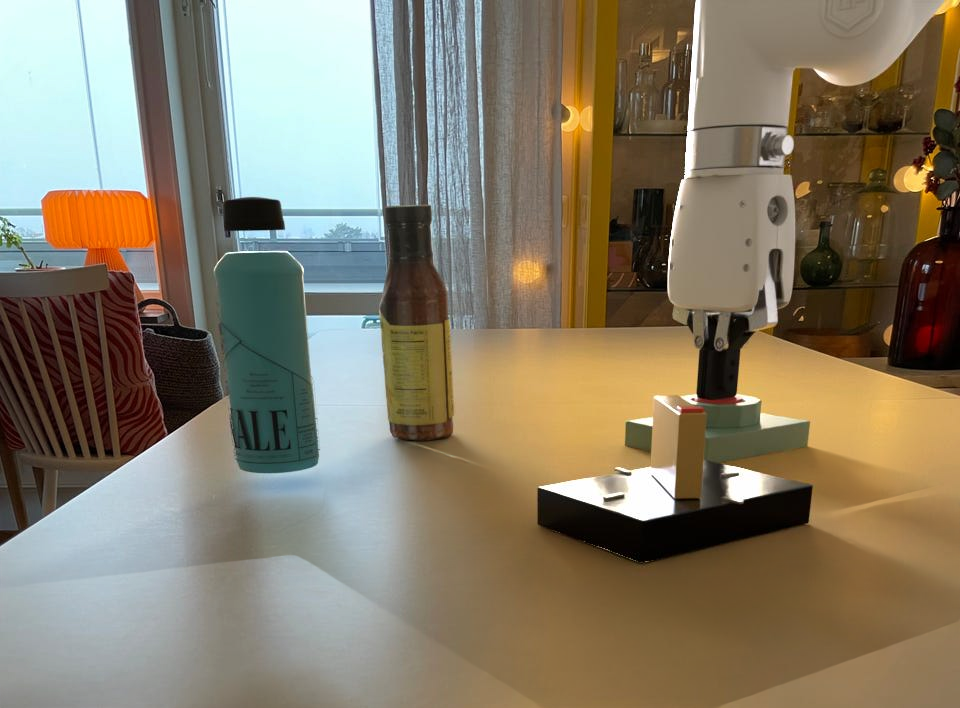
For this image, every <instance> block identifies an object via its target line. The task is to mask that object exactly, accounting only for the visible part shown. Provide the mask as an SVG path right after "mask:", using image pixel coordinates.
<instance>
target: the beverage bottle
mask: <svg viewBox="0 0 960 708" xmlns="http://www.w3.org/2000/svg"><path fill="white" fill-rule="evenodd" d="M223 201H224V202H223V218H224V219H223V231H224V232H254V231H255V232H257V231H260V232H261V231H262V232H263V231H286V224H285V220H284V215H283V209H282V203H281V201H280V200H279V199H275V198H270V197H263V196H245V197H237V198H231V199H225V200H223ZM220 258H221V259H220V260H219V261H218V262H217V263H216V265H215V267H214V269H213V275H214V277H215V284H216V291H217V301H218V302H216V305H217V307H218V312H219V313H218V312H216V314H217V316H218V319H219V321H220V323H219V324H218V330H219V332H218V333H220V348H221V354H222V355H223V356H224V359H223V361H222V362H223V364H222V367H223V368H224V364H225V368H224V372H225V373H226V381H225V382H224V383H225V384H226V386H225V389H226V391H225V392H226V396H227V398H228V400H229V406H230V407H229V406H227V409H228V410H229V411H230V414H228V417H229V425H230V430H231V431H230V433H231V436H232V440H231V441H232V442H231V443H232V444H233V447H234V448H233V450H232V452H233V453H234V455H233V457H234V460H236V463H237V465H238V468H239V469H240V470H241V471H243V472H246V473H247V472H248V473H253V474H283V473H284V474H285V473H292V472H293V473H294V472H299V471H304V470H309V469H311V468H314V467H315V466H317V465H318V464H319V458H320V451H321V448H319V446H320V440H319V436H318V435H320V434H319V433H320V432H319V431H318V426H317V424H319V423H318V417H317V415H316V413H318V412H317V411H318V410H317V409H316V404H315V402H316V401H317V400H316V398H315V393H314V391H315V390H316V389H315V387H314V382H315V380H314V378H313V376H312V368H311V356H310V345H309V344H310V343H309V333H308V319H307V309H306V308H307V307H306V295H305V294H306V293H305V283H304V273H305V272H304V270H305V269H304V266H303V265H302V264H301V263H300V261H298V259H296V258H295V256H294V255H292V254H291V253H290V252H289V251H287V250H272V251H271V250H269V251H268V250H267V251H264V250H263V251H235V252H234V251H233V252H226V253H224V255H223V256H222V257H220Z"/></svg>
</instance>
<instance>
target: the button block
mask: <svg viewBox="0 0 960 708" xmlns="http://www.w3.org/2000/svg"><path fill="white" fill-rule="evenodd" d="M696 396H697V395H696V393H694V394H688V395H682V396H680V397H681V398H683V399H685V400H686V401H688V402H689V403H691V404H692V405H694V406H700V407H702V408H704V412H705V413H706V414H707V417H706V431H705V446H704V460H707V461H711V462H715V463H724V462H729V461H735V460H740V459H745V458H751V457H756V456H763V455H767V454H773V453H774V454H775V453H779V452H785V451H789V450H794V449H800V448H806V447H808V445H809V436H810V428H811V420H807V419H799V418H794V417H787V416H781V415H777V414H770V413H765V412H761V411H762V399H760V398H758V397H756V396H752V395H751V396H750V395H744V394H736V396H740V397H742V398H743V402H741V403H734V404H709V403H699V402H694V399H695V397H696ZM624 423H625V424H624V425H625V426H624V446H625V447H629V448H634V449H637V450H642V451H646V452H650V453H651V448H652V428H653V416H651V417H643V418H637V419H636V418H635V419H630V420H625V422H624Z"/></svg>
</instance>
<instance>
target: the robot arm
mask: <svg viewBox="0 0 960 708" xmlns="http://www.w3.org/2000/svg"><path fill="white" fill-rule="evenodd" d="M946 1H947V0H695V6H694V22H693V23H694V24H693V38H692V55H691V70H690V71H691V72H690V87H689V89H690V90H689V102H688V103H689V104H688V117H687V119H688V120H687V136H686V152H685V167H684V169H685V170H684V171H685V172H684V174H685V175H684V179H681V182H680V185H679V191H678V193H677V194H678V195H677V200H676V205H675V209H674V215H673V221H672V229H671V236H670V243H669V255H668V265H667V266H668V268H667V296H668V299H669V301H670V303H672V305H673V308H672V315H671V316H672V319H673V320H674V321H675V322H678V323H680V324H682V325H685V326H687V327H688V329H689V330H690V332H691V334H692V335H693V336H692V337H693V346H694V347H695V348H696V349H697V350H699V351H698V363H697V364H698V365H697V378H696V379H697V380H696V391H695V392H696V393H695V394H696V395H697V397H698V398H702V399H703V398H706V399H708V400H716V399H723V398H730V397H735V396H736V394H737V393H738V384H739V373H740V371H739V370H740V359H741V351H742V350H743V349H746V348H747V347H748V345H749V341H750V339H751V338H752V336H754V334H755V333H756V332H757V331H762V330H766V329H770V328H774V327H776V326H777V325H778V322H779V316H778V313H779V312H778V310H780V309H783V308H785V307H786V306H788V305H789V303H790V301H791V297H792V294H793V287H794V286H793V285H794V277H795V256H796V203H795V193H794V185H793V184H794V183H793V177H792V175H791V174H784V170H785V169H784V168H785V162H786V161H785V160H786V156H789V155H791V154H792V152H793V151H794V147H795V140H794V138H793V137H792V135H790V134H788V131H789V130H788V129H789V121H790V120H789V119H790V110H791V109H790V108H791V99H792V89H793V78H794V71H795V70H796V69H813V71H815V73H816V74H817V75H818V76H819V77H820V78H822V79H823V80H825V81H826V82H828V83H830V84H833V85H836V86H841V87H853V86H858V85H862V84H865V83H867V82H869V81H872V80H873V79H876V78H877V77H878V76H880V75H881V74H883V73H884V72H885V71H886V70H888V69H889V68H890V67H891V66H892V65H893V64H894V62H896V60H897V59H898V58H899V57H900V56H901V55H902V53H904V51H905V50H906V49H907V48H908V47H909V45H910V44H911V43H912V41H913V40H914V39H915V38H916V37H917V36H918V34H919V33H920V32H921V31H922V30H923V28H924V27H926V25H927V24H928V22H929V21H930V20H931V19H932V18H933V16H934V15H935V14H936V13H937V12H938V11H939V9H941V7H942V6H943V4H944V3H945V2H946Z"/></svg>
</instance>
